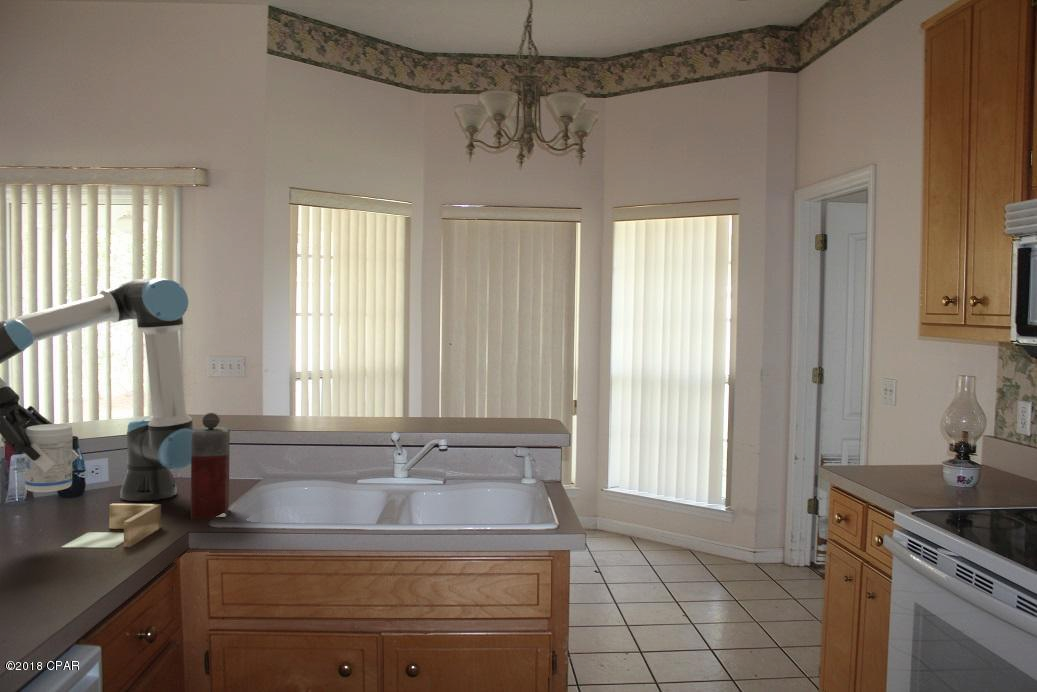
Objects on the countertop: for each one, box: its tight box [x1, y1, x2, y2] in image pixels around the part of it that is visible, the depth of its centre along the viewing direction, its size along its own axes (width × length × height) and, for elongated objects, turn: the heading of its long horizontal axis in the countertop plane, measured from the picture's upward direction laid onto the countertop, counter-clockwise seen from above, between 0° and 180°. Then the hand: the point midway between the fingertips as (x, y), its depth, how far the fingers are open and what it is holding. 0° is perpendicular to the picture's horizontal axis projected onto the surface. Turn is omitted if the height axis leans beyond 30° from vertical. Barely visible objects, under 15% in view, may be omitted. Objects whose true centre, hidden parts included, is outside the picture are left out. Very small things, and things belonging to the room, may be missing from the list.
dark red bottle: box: [190, 411, 231, 520], centre depth 208 cm, size 9×11×28 cm
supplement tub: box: [24, 423, 74, 493], centre depth 178 cm, size 10×10×15 cm
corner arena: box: [60, 503, 162, 549], centre depth 184 cm, size 15×18×6 cm
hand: (62, 463), depth 179 cm, fingers closed on supplement tub, 9 cm apart
